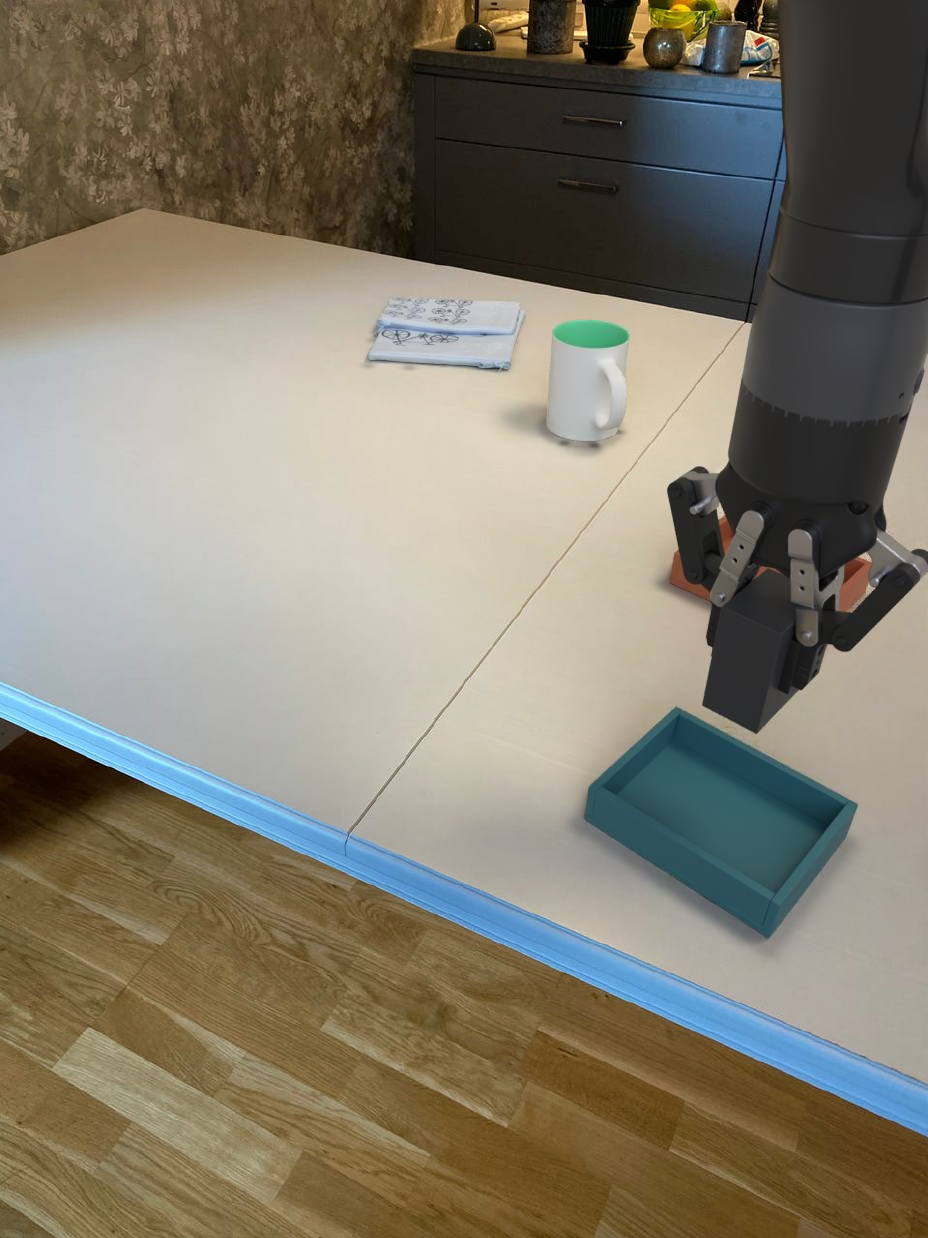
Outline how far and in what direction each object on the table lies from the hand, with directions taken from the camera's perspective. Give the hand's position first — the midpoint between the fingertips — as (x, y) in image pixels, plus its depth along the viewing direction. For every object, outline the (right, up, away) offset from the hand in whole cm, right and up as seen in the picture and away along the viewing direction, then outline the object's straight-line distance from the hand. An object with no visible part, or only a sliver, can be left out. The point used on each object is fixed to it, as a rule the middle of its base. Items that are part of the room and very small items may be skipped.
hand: (758, 668), depth 55 cm
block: (0, -2, +1) cm, 2 cm away
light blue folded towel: (-19, +40, +74) cm, 86 cm away
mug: (-2, +23, +53) cm, 57 cm away
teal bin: (0, -11, +8) cm, 13 cm away
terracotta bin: (+10, +5, +29) cm, 31 cm away
